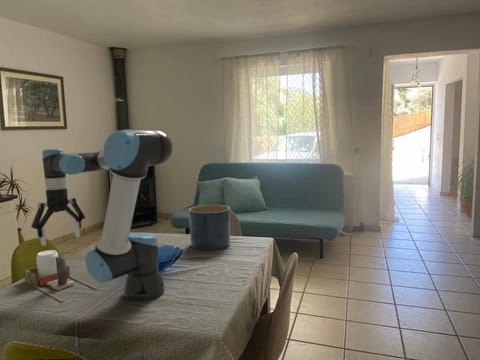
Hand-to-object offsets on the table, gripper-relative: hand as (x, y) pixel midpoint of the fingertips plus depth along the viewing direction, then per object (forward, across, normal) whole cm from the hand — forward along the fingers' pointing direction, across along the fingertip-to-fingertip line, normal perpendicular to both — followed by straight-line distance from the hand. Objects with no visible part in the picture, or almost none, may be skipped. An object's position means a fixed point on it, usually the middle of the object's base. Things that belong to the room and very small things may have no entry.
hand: (61, 240), depth 146 cm
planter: (+19, -75, +11) cm, 78 cm away
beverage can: (+19, +1, -13) cm, 23 cm away
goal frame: (+19, 0, -14) cm, 24 cm away
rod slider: (+19, +1, -3) cm, 19 cm away
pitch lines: (+19, +1, +2) cm, 19 cm away
